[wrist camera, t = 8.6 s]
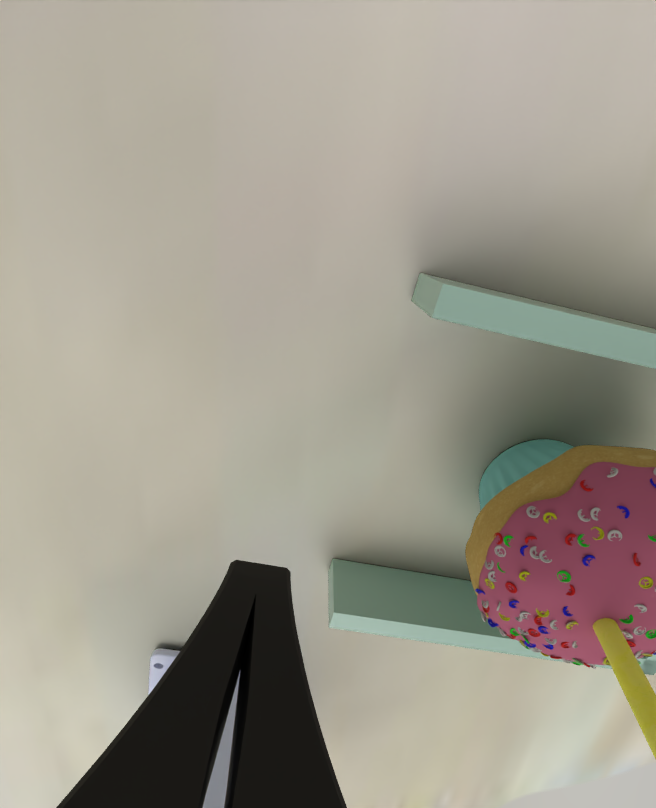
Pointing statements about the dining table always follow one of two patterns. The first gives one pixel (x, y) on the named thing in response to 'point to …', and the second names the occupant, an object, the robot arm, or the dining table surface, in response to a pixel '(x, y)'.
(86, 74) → the dining table surface
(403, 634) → the mint green u shape
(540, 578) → the cupcake
